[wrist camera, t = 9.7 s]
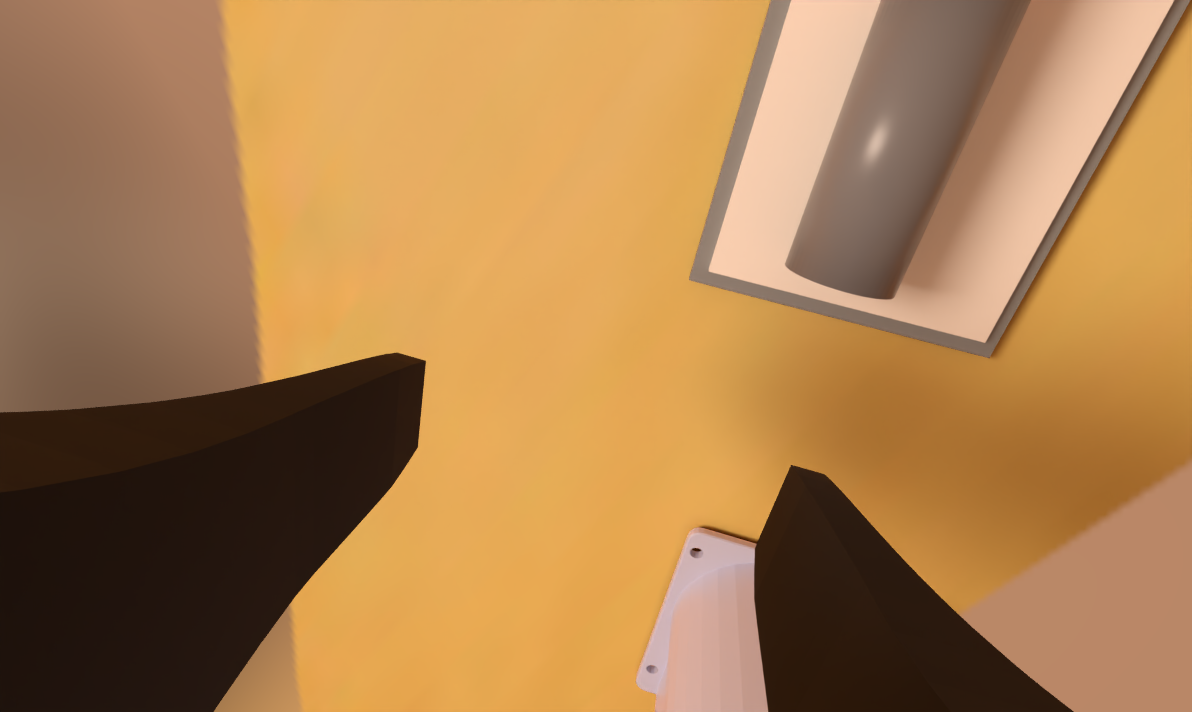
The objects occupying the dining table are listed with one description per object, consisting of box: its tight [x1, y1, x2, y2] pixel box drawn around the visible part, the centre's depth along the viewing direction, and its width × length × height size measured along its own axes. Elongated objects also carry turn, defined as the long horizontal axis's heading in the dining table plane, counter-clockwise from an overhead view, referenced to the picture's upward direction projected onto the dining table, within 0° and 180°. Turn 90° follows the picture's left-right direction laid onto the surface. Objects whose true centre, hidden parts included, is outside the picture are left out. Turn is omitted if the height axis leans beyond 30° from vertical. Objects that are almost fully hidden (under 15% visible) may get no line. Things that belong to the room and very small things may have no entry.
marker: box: [785, 0, 1031, 300], centre depth 13 cm, size 10×3×3 cm
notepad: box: [689, 0, 1190, 358], centre depth 15 cm, size 13×10×1 cm
